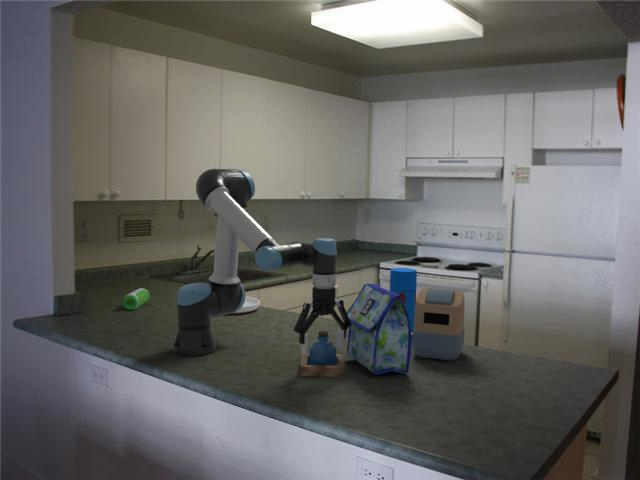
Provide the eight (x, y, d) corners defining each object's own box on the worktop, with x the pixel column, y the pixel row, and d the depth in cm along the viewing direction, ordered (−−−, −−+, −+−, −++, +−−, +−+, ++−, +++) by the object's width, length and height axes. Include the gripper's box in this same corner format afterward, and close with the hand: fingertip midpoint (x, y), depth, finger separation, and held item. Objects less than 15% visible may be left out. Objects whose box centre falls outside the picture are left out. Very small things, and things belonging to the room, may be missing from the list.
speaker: (135, 302, 293) (135, 287, 292) (150, 302, 292) (150, 287, 291) (121, 310, 275) (121, 294, 274) (137, 311, 275) (137, 294, 274)
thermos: (413, 333, 244) (416, 272, 241) (387, 332, 246) (389, 271, 243) (415, 327, 254) (417, 268, 252) (389, 325, 257) (391, 267, 254)
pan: (231, 318, 264) (231, 304, 263) (168, 303, 291) (168, 290, 290) (271, 309, 283) (271, 296, 283) (209, 296, 311) (209, 283, 310)
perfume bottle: (309, 369, 197) (310, 332, 196) (319, 364, 202) (320, 329, 201) (325, 372, 194) (326, 336, 192) (335, 367, 199) (336, 332, 198)
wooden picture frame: (300, 375, 191) (300, 366, 191) (302, 362, 205) (302, 353, 205) (344, 377, 191) (344, 367, 191) (343, 363, 205) (343, 354, 205)
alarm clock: (409, 358, 211) (412, 293, 209) (419, 346, 227) (421, 285, 224) (458, 364, 206) (461, 297, 203) (464, 351, 221) (467, 288, 219)
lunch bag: (338, 355, 208) (346, 281, 206) (380, 355, 214) (389, 282, 212) (366, 376, 188) (375, 293, 185) (412, 375, 194) (422, 295, 192)
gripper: (294, 291, 186) (293, 359, 188) (362, 285, 198) (361, 349, 200) (284, 287, 192) (283, 352, 195) (350, 281, 204) (349, 343, 207)
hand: (322, 350), depth 197 cm, fingers open, 13 cm apart
